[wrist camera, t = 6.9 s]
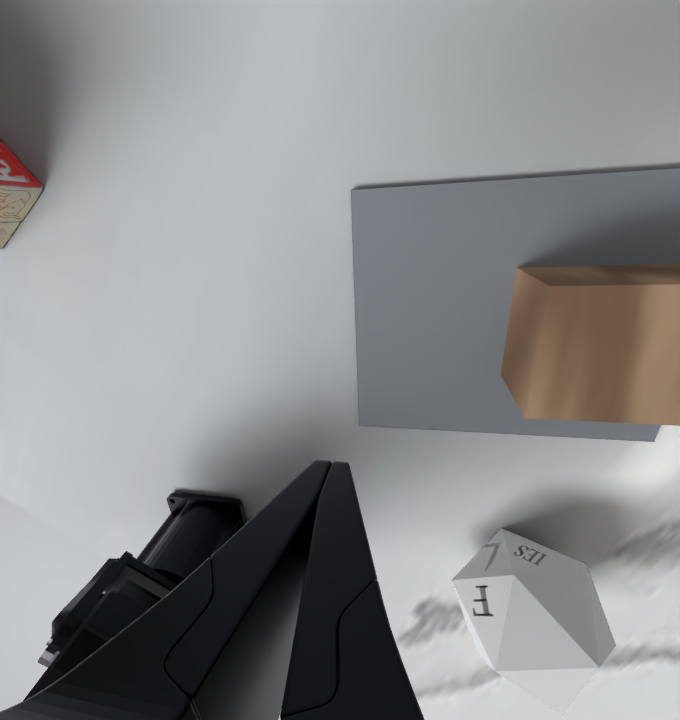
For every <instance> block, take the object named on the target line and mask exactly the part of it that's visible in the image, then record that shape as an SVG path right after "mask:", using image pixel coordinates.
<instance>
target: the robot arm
mask: <svg viewBox="0 0 680 720" xmlns="http://www.w3.org/2000/svg"><path fill="white" fill-rule="evenodd" d="M167 502H168V505H169V508H170V511H171V514H170V516H169V517H168V518H167V519H166V521H165V522H164V523H163V525H162V526H161V527H160V529H159V530H158V531H157V533H156V534H155V535H154V537H153V538H152V539H151V540H150V542H149V543H148V544H147V546H146V547H145V548H144V550H143V551H142V552H141V554H140V555H139V556H138V558H137V559H136V558H134V557H133V555H132V554H131V553H129V552H127V551H126V552H125V553H124V554H123V555H122V557H121V558H120V559H119V558H118V559H110V558H109V559H108V561H107V562H106V563H105V564H104V565H103V567H102V568H101V569H100V570H99V571H98V573H97V574H96V575H95V576H94V577H93V578H92V579H91V581H90V582H89V583H88V584H87V585H86V586H85V587H84V588H83V589H82V590H81V591H80V592H79V593H78V594H77V596H75V597H74V599H72V600H71V601H70V603H69V604H68V605H67V606H66V607H65V608H64V609H63V610H62V611H61V612H60V613H59V614H58V615H57V617H56V618H55V619H54V621H53V622H52V637H51V638H50V640H49V641H48V643H47V645H48V647H47V648H46V650H45V651H44V653H43V654H42V655H41V657H40V658H39V660H38V663H40V664H42V665H44V666H46V667H48V669H47V670H46V671H45V673H44V674H43V675H42V677H41V678H40V679H39V681H38V682H37V683H36V685H35V686H34V687H33V689H32V690H31V691H30V692H29V694H28V695H27V696H26V698H25V699H24V700H23V702H21V703H19V704H17V705H15V706H13V707H10V708H8V709H6V710H3V711H1V712H0V720H278V718H279V715H280V718H281V720H424V717H423V715H422V712H421V709H420V707H419V704H418V702H417V699H416V696H415V694H414V691H413V688H412V686H411V683H410V681H409V678H408V675H407V673H406V670H405V668H404V665H403V662H402V659H401V657H400V654H399V651H398V648H397V645H396V642H395V639H394V637H393V634H392V631H391V628H390V624H389V621H388V617H387V614H386V610H385V606H384V603H383V599H382V595H381V591H380V587H379V583H378V581H377V575H376V571H375V567H374V563H373V559H372V555H371V551H370V547H369V543H368V539H367V535H366V531H365V527H364V523H363V519H362V514H361V510H360V506H359V502H358V498H357V494H356V490H355V486H354V482H353V478H352V474H351V470H350V466H349V463H348V462H339V461H334V462H331V461H326V460H316V461H314V462H313V463H312V464H311V465H310V466H309V467H307V468H306V469H305V470H304V471H303V472H302V473H301V474H300V475H299V476H298V477H297V478H295V479H294V480H293V481H292V482H291V483H290V484H289V485H288V486H287V487H286V488H285V489H283V490H282V491H281V492H280V493H279V494H278V495H277V496H276V497H275V498H274V499H273V500H271V501H270V502H269V503H268V504H267V505H266V506H265V507H264V508H263V509H262V510H261V511H259V512H258V513H257V514H256V515H255V516H254V517H253V518H252V519H251V520H250V521H249V522H247V523H246V519H245V514H244V510H243V505H242V503H241V501H239V500H237V499H230V498H219V497H209V496H199V495H189V494H179V493H171V494H170V495H169V497H168V498H167ZM281 708H282V709H281ZM280 711H281V714H280Z"/></svg>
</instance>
